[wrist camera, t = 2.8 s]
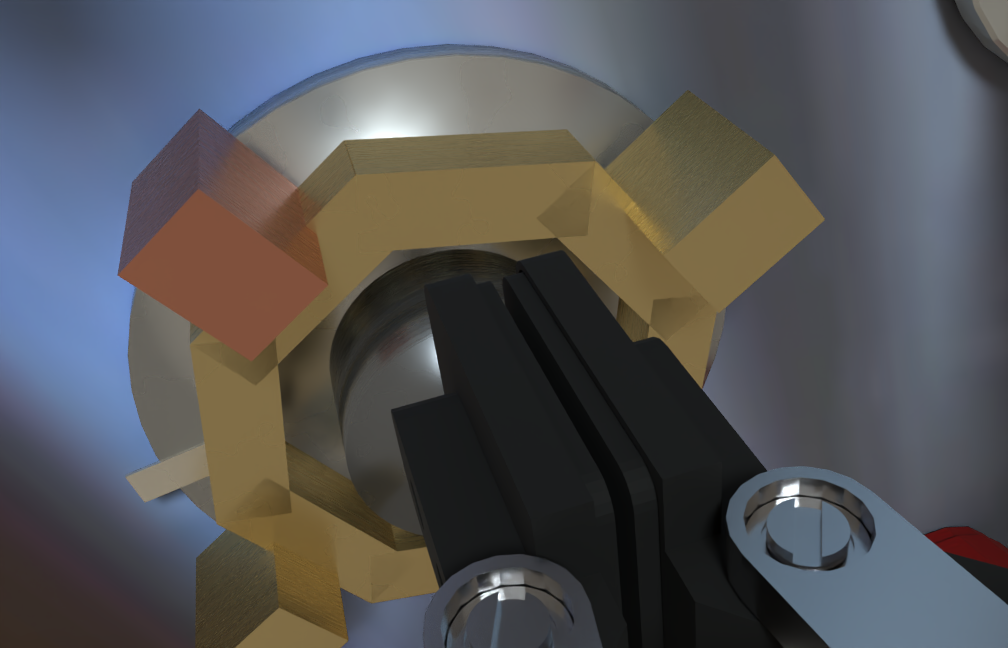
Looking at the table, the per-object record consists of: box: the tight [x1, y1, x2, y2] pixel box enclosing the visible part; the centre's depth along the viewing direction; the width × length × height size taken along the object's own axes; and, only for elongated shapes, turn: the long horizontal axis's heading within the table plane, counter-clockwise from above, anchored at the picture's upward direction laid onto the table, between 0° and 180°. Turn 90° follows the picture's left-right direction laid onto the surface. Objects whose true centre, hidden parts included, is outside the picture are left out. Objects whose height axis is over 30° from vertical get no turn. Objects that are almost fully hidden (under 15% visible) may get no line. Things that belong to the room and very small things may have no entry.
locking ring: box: [118, 90, 825, 648], centre depth 23 cm, size 14×14×4 cm
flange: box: [125, 44, 726, 535], centre depth 24 cm, size 16×16×4 cm
